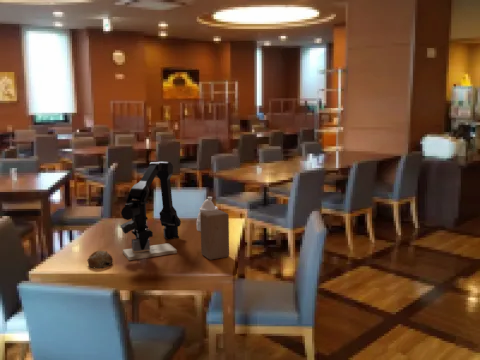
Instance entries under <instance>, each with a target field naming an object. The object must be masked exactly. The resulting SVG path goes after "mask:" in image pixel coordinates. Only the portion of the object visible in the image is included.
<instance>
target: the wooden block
mask: <svg viewBox="0 0 480 360" xmlns="http://www.w3.org/2000/svg"><path fill="white" fill-rule="evenodd" d="M200 217H201V232H200V243H201V245H200V248H201V249H200V251H201V252H200V253H201V255H202V256H203V257H205V258H206V259H208V260H211V261H212V260H217V259H222V258H228V257H230V222H229V219H230V218H229V213H228V212H225V211H223V210H221V209H217V210H212V211H204V212H201V213H200Z"/></svg>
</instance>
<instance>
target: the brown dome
mask: <svg viewBox="0 0 480 360" xmlns="http://www.w3.org/2000/svg"><path fill="white" fill-rule="evenodd" d="M113 262H114V261H113V257H112V255H111V254H110V253H109V252H108V251H107V250H106V251H105V250H96V251H94V252H93V253H91V254H90V255H89V256H88V258H87V264H88V267H90V268H91V269H102V268H103V269H105V268H107V267H110V266H111V265H112V264H113Z"/></svg>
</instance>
